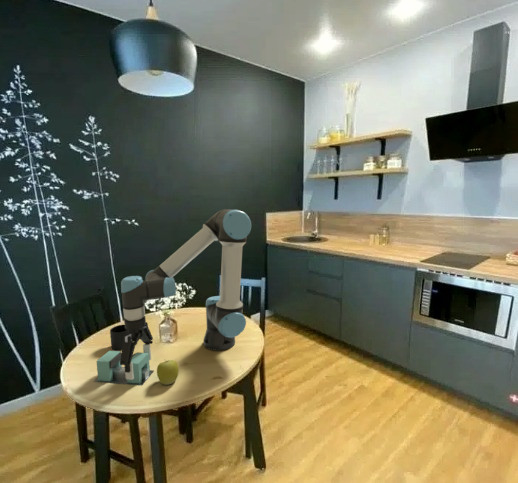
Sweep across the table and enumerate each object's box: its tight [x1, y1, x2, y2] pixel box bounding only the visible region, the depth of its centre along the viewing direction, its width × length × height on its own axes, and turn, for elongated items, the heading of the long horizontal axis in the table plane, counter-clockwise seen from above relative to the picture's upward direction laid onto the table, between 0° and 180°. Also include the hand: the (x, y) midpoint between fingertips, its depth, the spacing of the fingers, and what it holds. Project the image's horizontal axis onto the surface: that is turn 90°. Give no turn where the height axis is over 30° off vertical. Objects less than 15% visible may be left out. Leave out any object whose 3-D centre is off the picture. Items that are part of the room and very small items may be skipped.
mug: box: [109, 324, 132, 351], centre depth 147 cm, size 9×12×9 cm
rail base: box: [92, 366, 155, 386], centre depth 122 cm, size 20×10×3 cm, turn 82°
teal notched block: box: [96, 350, 123, 381], centre depth 122 cm, size 6×8×8 cm
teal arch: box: [127, 352, 151, 383], centre depth 121 cm, size 6×8×8 cm
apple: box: [156, 359, 180, 386], centre depth 118 cm, size 8×8×10 cm
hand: (139, 368), depth 121 cm, fingers open, 13 cm apart
